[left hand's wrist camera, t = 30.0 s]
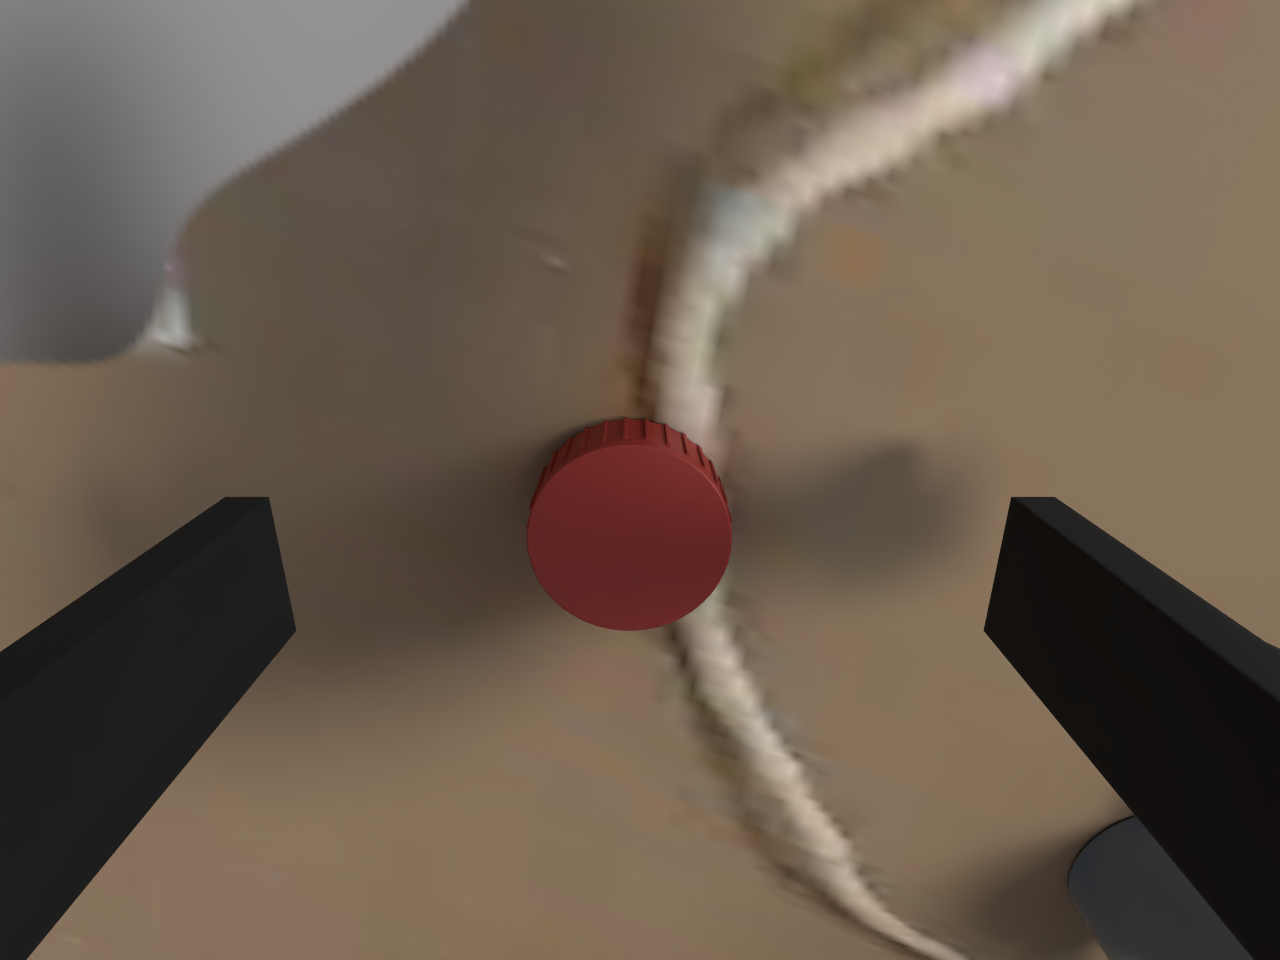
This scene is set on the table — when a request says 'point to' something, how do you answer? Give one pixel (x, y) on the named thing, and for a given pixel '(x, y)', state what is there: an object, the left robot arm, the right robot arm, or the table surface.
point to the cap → (629, 526)
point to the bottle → (1145, 901)
